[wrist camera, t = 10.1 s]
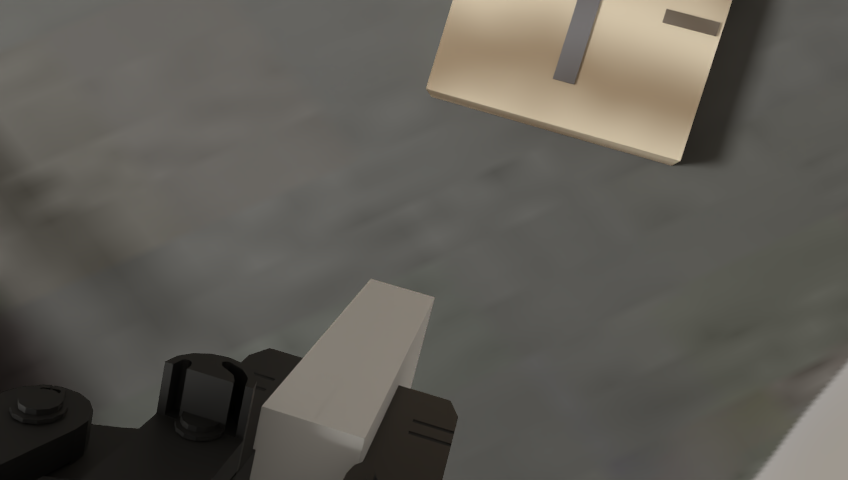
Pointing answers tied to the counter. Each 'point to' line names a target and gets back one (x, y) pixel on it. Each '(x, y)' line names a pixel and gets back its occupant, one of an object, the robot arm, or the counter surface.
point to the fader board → (584, 67)
